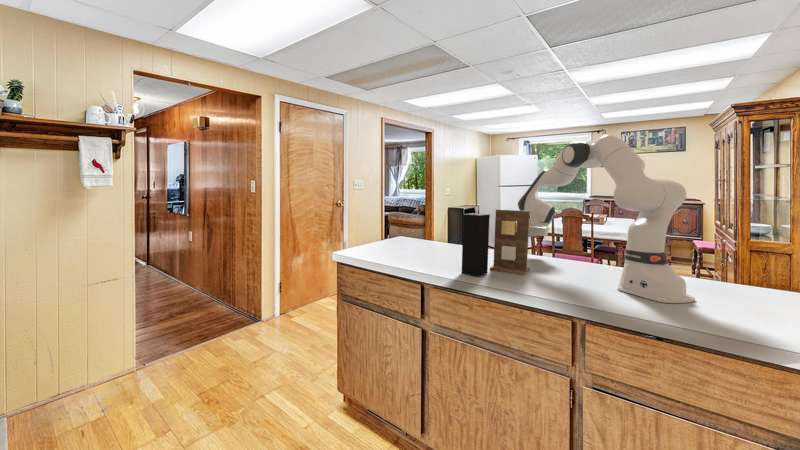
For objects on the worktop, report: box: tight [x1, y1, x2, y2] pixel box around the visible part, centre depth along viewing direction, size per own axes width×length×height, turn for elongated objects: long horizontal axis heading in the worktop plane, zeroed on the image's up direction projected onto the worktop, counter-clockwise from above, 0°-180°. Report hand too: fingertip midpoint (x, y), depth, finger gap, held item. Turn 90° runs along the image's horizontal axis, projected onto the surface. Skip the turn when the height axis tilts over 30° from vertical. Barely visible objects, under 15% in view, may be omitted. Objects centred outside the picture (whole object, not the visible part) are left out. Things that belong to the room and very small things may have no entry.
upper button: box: [501, 221, 517, 235], centre depth 153 cm, size 7×6×6 cm
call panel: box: [489, 208, 530, 276], centre depth 154 cm, size 10×14×26 cm
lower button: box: [501, 246, 516, 261], centre depth 155 cm, size 7×6×6 cm
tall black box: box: [461, 206, 491, 277], centre depth 148 cm, size 8×8×28 cm
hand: (521, 231), depth 167 cm, fingers closed
